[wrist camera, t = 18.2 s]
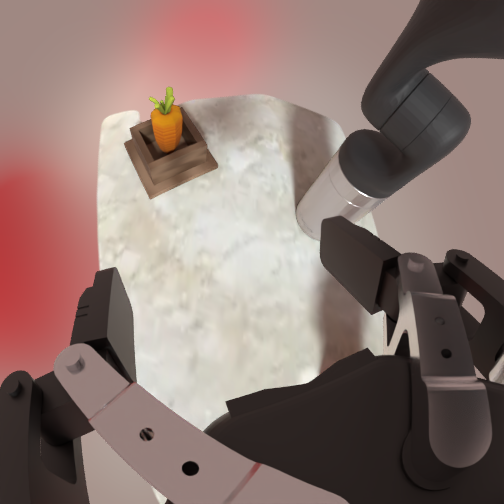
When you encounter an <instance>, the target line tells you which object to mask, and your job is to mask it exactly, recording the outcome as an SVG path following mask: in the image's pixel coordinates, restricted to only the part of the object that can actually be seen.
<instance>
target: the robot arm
mask: <svg viewBox="0 0 504 504" xmlns="http://www.w3.org/2000/svg"><path fill="white" fill-rule="evenodd" d="M457 58H494V59H496V58H497V59H504V0H420V2H419V5H418V6H417V8H416V10H415V12H414V14H413V16H412V17H411V19H410V21H409V22H408V24H407V26H406V27H405V29H404V30H403V32H402V33H401V35H400V37H399V38H398V40H397V41H396V43H395V44H394V46H393V47H392V49H391V50H390V52H389V53H388V55H387V56H386V58H385V59H384V61H383V62H382V64H381V65H380V67H379V68H378V70H377V71H376V73H375V75H374V76H373V78H372V79H371V81H370V83H369V84H368V86H367V88H366V90H365V92H364V95H363V98H362V102H361V109H362V112H363V114H364V116H365V117H366V118H367V120H368V121H369V122H370V123H371V124H372V125H373V126H374V127H375V128H376V129H377V130H380V132H377V131H373V130H366V129H363V130H358V131H355V132H353V133H352V134H350V135H349V137H347V138H346V140H345V141H344V142H343V144H342V145H341V146H340V148H339V149H338V151H337V152H336V153H335V155H334V156H333V157H332V159H331V160H330V161H329V163H328V164H327V166H326V167H325V168H324V170H323V171H322V172H321V174H320V175H319V176H318V178H317V179H316V180H315V182H314V183H313V184H312V186H311V187H310V188H309V190H308V191H307V192H306V194H305V195H304V196H303V198H302V199H301V200H300V202H299V203H298V206H297V210H296V217H297V221H298V223H299V225H300V227H301V229H302V230H303V231H304V232H305V233H306V234H307V235H308V236H309V237H311V238H313V239H315V240H318V241H320V258H321V262H322V264H323V266H324V267H325V268H326V269H327V270H328V271H329V272H330V273H331V274H332V275H333V276H334V277H335V278H336V279H337V280H338V281H339V282H340V283H341V284H342V285H343V286H344V287H345V288H346V289H347V290H348V291H349V292H350V293H351V294H352V295H353V296H354V297H355V299H356V300H357V301H358V302H359V303H360V304H361V305H362V306H363V307H364V308H365V309H366V310H367V311H368V312H369V313H370V314H371V315H373V314H375V313H377V312H379V311H382V310H384V311H385V313H384V317H383V355H380V356H374V355H373V354H372V352H371V351H370V350H369V349H368V348H366V349H364V350H362V351H359V352H357V353H355V354H353V355H351V356H349V357H346V358H344V359H342V360H340V361H337V362H336V363H335V364H334V365H332V366H331V367H330V368H328V369H327V370H326V371H324V372H323V373H322V374H320V375H319V376H317V377H316V378H315V379H313V380H312V381H310V382H309V383H306V384H301V385H295V386H288V387H280V388H272V389H264V390H261V391H258V392H255V393H252V394H249V395H245V396H242V397H239V398H235V399H232V400H229V401H225V402H226V405H227V408H228V411H229V412H228V413H226V414H224V415H222V416H221V417H219V418H218V419H216V420H215V421H214V422H212V423H211V424H210V425H209V426H208V427H207V428H206V429H205V430H204V431H203V432H202V431H201V430H199V429H198V428H196V427H195V426H193V425H192V424H190V423H189V422H187V421H186V420H185V419H183V418H182V417H180V416H179V415H178V414H176V413H175V412H173V411H172V410H171V409H169V408H168V407H167V406H165V405H164V404H163V403H161V402H160V401H159V400H157V399H156V398H155V397H154V396H152V395H151V394H150V393H149V392H147V391H146V390H145V389H144V388H142V387H141V386H140V385H139V384H137V379H136V366H135V350H134V325H133V311H132V307H131V304H130V301H129V298H128V296H127V293H126V291H125V288H124V285H123V283H122V280H121V277H120V275H119V272H118V270H117V268H116V267H113V268H109V269H105V270H101V271H97V272H96V275H95V280H94V284H93V287H89V288H87V289H86V290H85V291H84V293H83V294H82V296H81V297H80V299H79V303H78V307H77V308H78V310H77V312H76V318H75V321H74V327H73V331H72V337H71V342H70V346H69V347H67V348H66V349H64V350H63V351H62V352H61V353H60V354H59V355H58V357H57V358H56V360H55V363H54V371H52V372H50V373H48V374H46V375H44V376H42V377H39V378H37V379H35V380H34V379H33V378H32V377H31V376H30V375H29V374H28V373H27V372H26V371H16V372H13V373H11V374H10V375H9V376H8V377H7V378H6V379H5V380H4V381H3V383H2V385H1V387H0V504H90V503H89V497H88V493H87V486H86V480H85V473H84V465H83V457H82V447H81V436H82V435H85V434H87V433H89V432H91V431H93V430H96V431H97V432H98V433H99V434H100V436H101V437H102V438H103V439H104V440H105V441H106V442H107V443H108V444H109V445H110V446H111V448H112V449H113V450H114V451H115V452H116V453H117V454H118V455H119V456H120V457H121V458H122V459H123V460H124V461H125V462H126V463H127V464H128V465H129V466H131V467H132V468H133V469H134V470H135V471H136V472H137V473H138V474H139V475H140V476H142V477H143V478H144V479H145V480H146V481H147V482H148V483H149V484H150V485H152V486H153V487H154V488H155V489H156V490H158V491H159V492H160V493H161V494H163V495H164V496H165V497H166V498H168V499H167V501H166V503H165V504H504V280H503V279H502V278H500V277H499V276H498V275H497V274H495V273H494V272H492V270H490V269H489V268H488V267H486V266H485V265H484V264H482V263H481V262H480V261H478V260H477V259H476V258H474V257H473V256H472V255H470V254H469V253H467V252H465V251H462V250H456V249H452V250H449V251H448V252H447V253H446V256H445V260H444V262H443V263H432V262H431V260H429V259H428V258H427V257H425V256H423V255H421V254H417V253H404V254H400V253H399V252H398V251H396V250H395V249H393V248H392V247H391V246H389V245H388V244H386V243H385V242H383V241H382V240H380V239H379V238H378V237H377V236H375V235H374V236H373V234H372V233H371V232H369V231H368V230H366V229H365V228H362V227H360V226H357V225H355V223H356V222H358V221H359V220H360V219H361V218H363V217H364V216H365V215H367V214H368V213H369V212H371V211H372V210H373V209H374V208H376V207H377V206H378V205H379V204H381V203H382V202H383V201H385V200H386V199H387V198H388V197H390V196H391V195H392V194H394V193H395V192H396V191H398V190H399V189H401V188H402V187H403V186H405V185H406V184H407V183H408V182H410V181H411V180H412V179H414V178H415V177H417V176H418V175H419V174H421V173H423V172H424V171H425V170H427V169H428V168H430V167H431V166H433V165H434V164H436V163H437V162H439V161H440V160H441V159H443V158H444V157H445V156H447V155H448V154H449V153H450V152H451V151H453V150H454V149H455V148H456V147H457V146H458V145H459V144H460V143H461V141H462V140H463V139H464V137H465V136H466V134H467V133H468V130H469V128H470V124H471V118H470V114H469V112H468V111H467V109H466V108H465V107H464V106H463V105H462V103H461V102H460V101H459V100H458V99H457V98H456V97H455V96H454V95H453V94H452V93H451V92H450V91H449V90H448V89H447V88H446V87H445V86H444V85H443V84H441V82H440V81H439V80H438V79H436V78H435V77H434V76H433V75H432V74H431V73H429V71H428V70H426V69H425V68H427V67H429V66H431V65H434V64H436V63H439V62H442V61H447V60H451V59H457ZM467 291H468V292H469V293H470V294H471V295H472V296H474V297H475V298H476V299H477V300H478V301H479V302H480V303H481V304H482V305H483V307H484V310H485V315H484V318H483V320H482V322H481V324H480V323H479V322H478V321H477V320H476V319H475V318H474V317H473V316H472V315H471V314H470V313H468V312H467V311H466V310H465V309H464V308H463V307H462V303H463V301H464V298H465V296H466V293H467ZM474 366H475V367H476V368H477V369H478V370H479V371H480V373H481V374H482V375H483V376H484V377H485V378H486V380H485V379H481V378H477V377H476V374H475V369H474ZM40 438H41V449H40Z"/></svg>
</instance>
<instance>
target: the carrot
mask: <svg viewBox="0 0 504 504" xmlns="http://www.w3.org/2000/svg"><path fill="white" fill-rule="evenodd" d="M149 100H150V101H152V102H154V103H155V109H154V110H153V111H152V112H151V121H152V126H153V131H154V135H155V139H156V142H157V144H158V146H159V148H160V149H161V150H162V151H163V152H165V153H166V154H168V155H169V154H171V153H173V152H174V150H175V149H176V148H177V146H178V144H179V142H180V139H181V134H182V119H183V118H182V114H181V110H180V107H179V106H176V105H173V102H174V100H175V98H174V97H173V89H172V88H171V87H167V88H166V96H165V104H164V102H163V100H162V101H160V103H161V104H159V102H158V101H157V100H156V99H154V98H152V97H150V98H149Z"/></svg>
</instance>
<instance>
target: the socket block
mask: <svg viewBox="0 0 504 504" xmlns="http://www.w3.org/2000/svg"><path fill="white" fill-rule="evenodd" d="M180 110H181V114H182V118H183V119H182V134H181V139H180V142H179V144H178V146H177V148H176V149H175V150H174V152H173V153H171V154H169V155H168V154H166V153H165V152H163V151H162V150H161V149H160V148H159V146H158V144H157V142H156V139H155V135H154V131H153V126H152V121H151V119H150V120H148V121H145V122H143V123H141V124H138V125H136V126H134V127H132V128H130V131H131V135H132V140H130V141H128V142H125V143H124V145H125V148H126V150H127V152H128V154H129V156H130V159H131V161H132V163H133V165H134V167H135V169H136V171H137V173H138V176H139V178H140V180H141V182H142V184H143V186H144V188H145V190H146V192H147V194H148V196H149V198H150V199H152V198H154V197H156V196H158V195H160V194H162V193H164V192H166V191H169V190H171V189H173V188H175V187H177V186H179V185H181V184H183V183H185V182H188V181H190V180H192V179H194V178H196V177H199V176H201V175H203V174H205V173H208V172H210V171H212V170H214V169H217V168H218V164H217V163H216V161H215V160H214V158H213V157H212V155H211V154H210V152H209V151H208V149H207V144H206V142H205V141H204V139H203V138H202V136H201V135H200V133H199V132H198V130H197V129H196V127H195V126H194V124H193V123H192V121H191V120H190V118H189V117H188V115H187V114H186V112H185V111H184V109H183V108H182V107H181V108H180Z"/></svg>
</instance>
